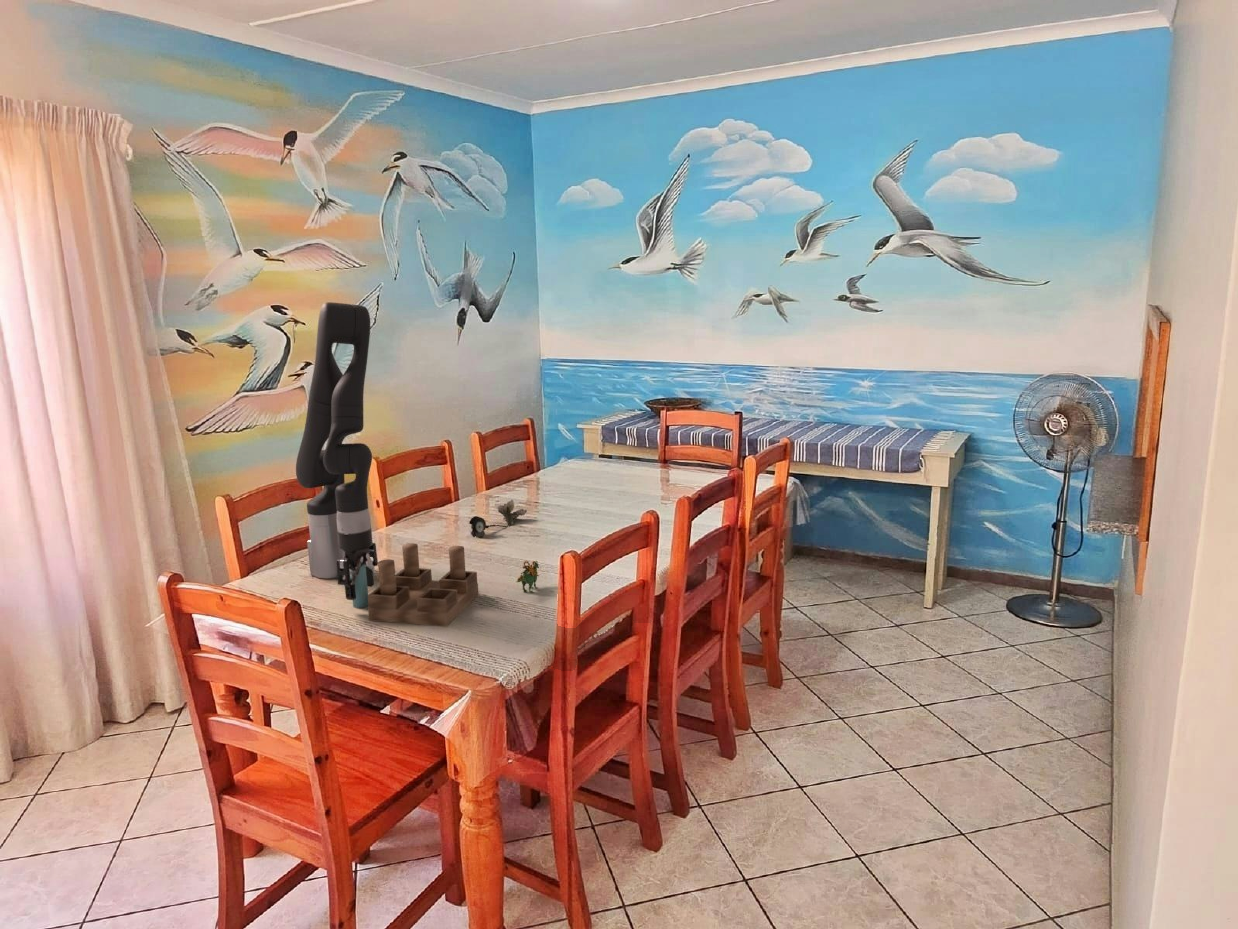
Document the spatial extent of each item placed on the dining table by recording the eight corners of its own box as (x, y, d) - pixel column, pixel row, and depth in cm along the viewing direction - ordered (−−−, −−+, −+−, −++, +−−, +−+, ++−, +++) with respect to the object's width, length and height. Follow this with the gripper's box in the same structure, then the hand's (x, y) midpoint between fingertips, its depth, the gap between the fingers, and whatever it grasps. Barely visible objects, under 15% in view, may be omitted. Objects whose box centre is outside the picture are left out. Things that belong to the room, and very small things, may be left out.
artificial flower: (464, 540, 248) (459, 507, 248) (515, 530, 266) (510, 499, 267) (484, 536, 243) (479, 503, 243) (535, 526, 261) (530, 496, 261)
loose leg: (350, 607, 194) (346, 567, 192) (358, 601, 197) (354, 562, 195) (364, 608, 193) (360, 568, 191) (371, 602, 197) (368, 563, 194)
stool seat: (369, 620, 186) (364, 566, 183) (407, 590, 204) (403, 540, 201) (446, 626, 182) (443, 571, 179) (478, 594, 200) (475, 544, 198)
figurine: (544, 584, 207) (543, 553, 205) (523, 601, 196) (521, 569, 194) (533, 582, 208) (532, 552, 206) (511, 600, 197) (510, 567, 195)
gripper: (355, 518, 199) (361, 581, 202) (323, 535, 185) (329, 603, 188) (383, 519, 197) (389, 582, 201) (353, 537, 183) (359, 605, 187)
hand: (360, 592), depth 194 cm, fingers open, 8 cm apart
